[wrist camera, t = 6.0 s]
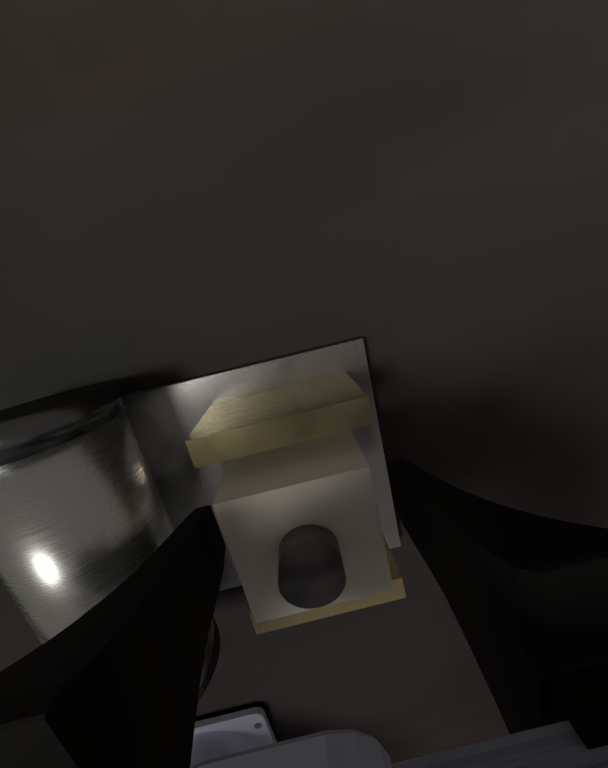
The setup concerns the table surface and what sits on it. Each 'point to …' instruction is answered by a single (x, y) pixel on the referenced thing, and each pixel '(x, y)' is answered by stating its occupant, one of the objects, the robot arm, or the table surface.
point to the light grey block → (303, 526)
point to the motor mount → (164, 475)
